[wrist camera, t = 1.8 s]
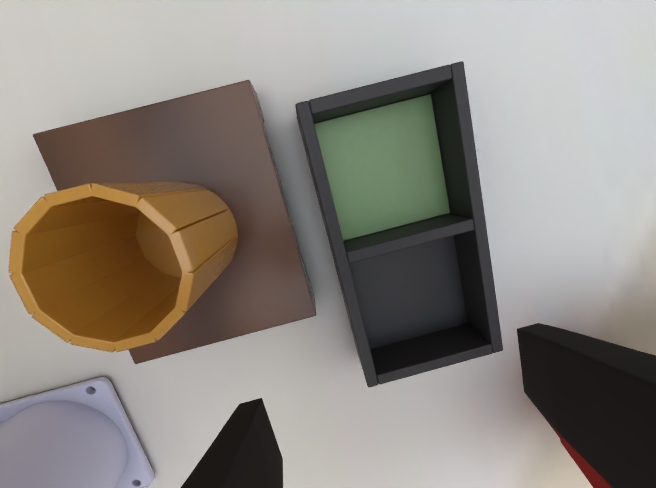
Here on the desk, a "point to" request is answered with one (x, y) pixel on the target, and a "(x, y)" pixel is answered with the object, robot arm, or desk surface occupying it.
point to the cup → (119, 259)
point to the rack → (405, 220)
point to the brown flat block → (215, 175)
